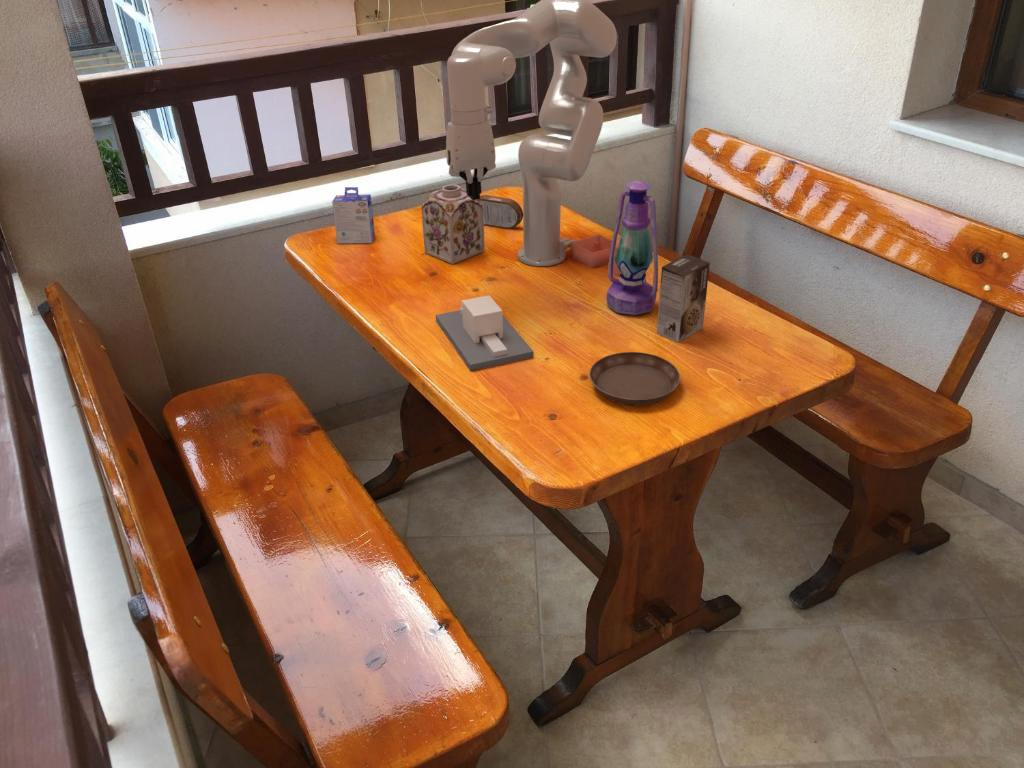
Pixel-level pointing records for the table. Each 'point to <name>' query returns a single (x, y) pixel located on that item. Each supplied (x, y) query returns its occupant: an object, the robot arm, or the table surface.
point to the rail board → (484, 343)
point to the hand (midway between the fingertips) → (474, 197)
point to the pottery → (594, 252)
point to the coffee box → (682, 297)
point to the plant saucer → (634, 378)
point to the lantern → (634, 253)
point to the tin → (501, 212)
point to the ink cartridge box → (353, 217)
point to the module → (482, 317)
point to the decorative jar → (452, 225)
